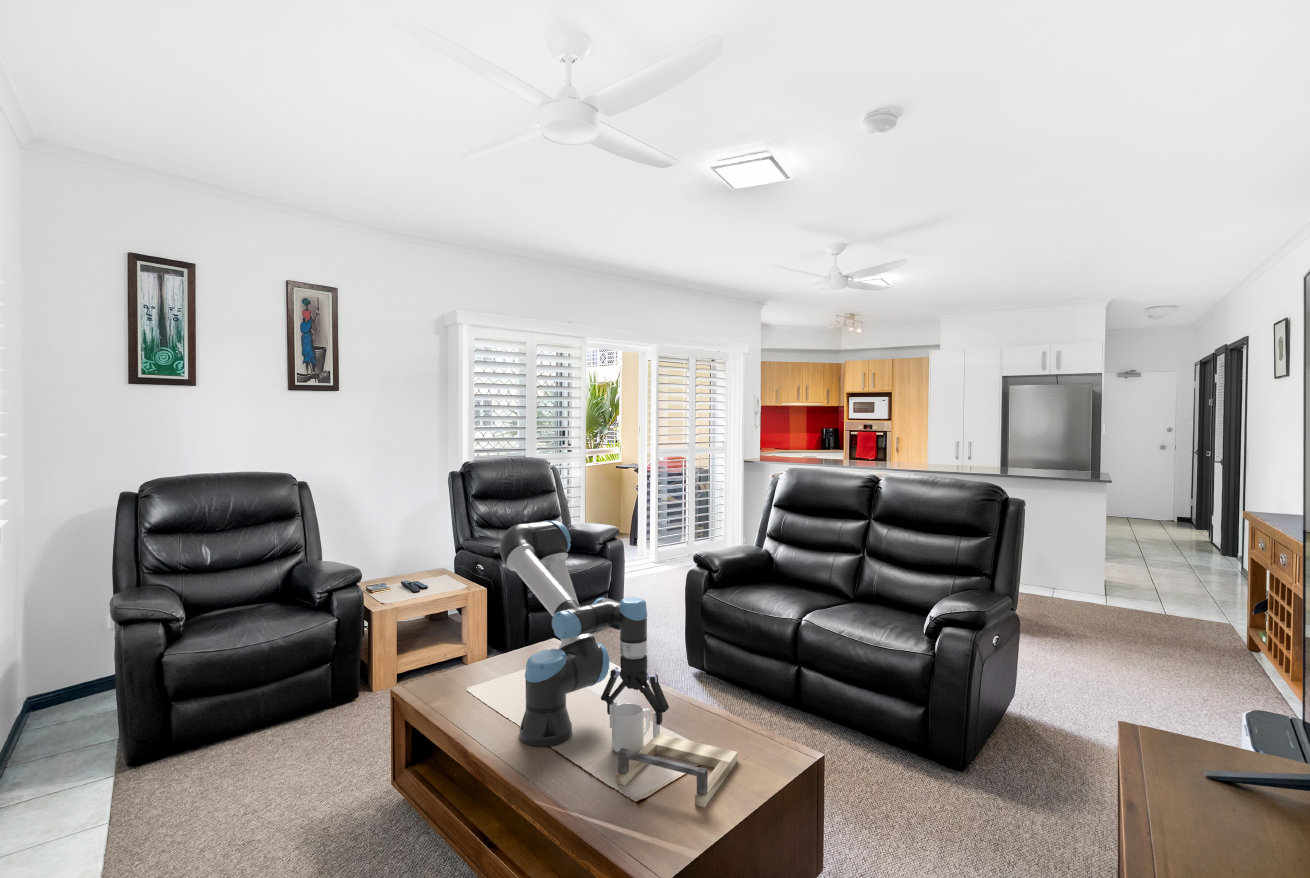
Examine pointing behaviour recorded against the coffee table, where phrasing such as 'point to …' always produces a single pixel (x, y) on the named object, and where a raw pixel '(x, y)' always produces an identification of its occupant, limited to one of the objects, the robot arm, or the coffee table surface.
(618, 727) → the mug
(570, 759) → the coffee table surface
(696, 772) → the beige and grey frame
